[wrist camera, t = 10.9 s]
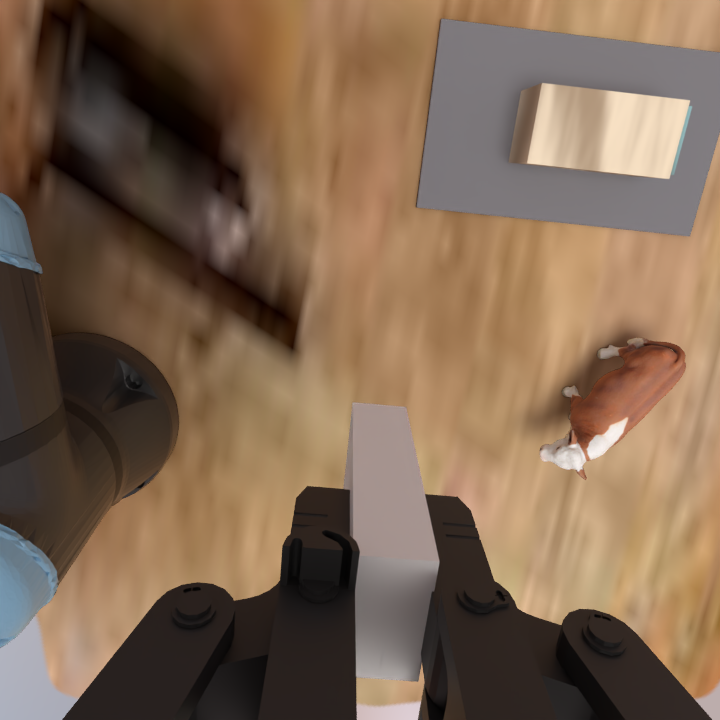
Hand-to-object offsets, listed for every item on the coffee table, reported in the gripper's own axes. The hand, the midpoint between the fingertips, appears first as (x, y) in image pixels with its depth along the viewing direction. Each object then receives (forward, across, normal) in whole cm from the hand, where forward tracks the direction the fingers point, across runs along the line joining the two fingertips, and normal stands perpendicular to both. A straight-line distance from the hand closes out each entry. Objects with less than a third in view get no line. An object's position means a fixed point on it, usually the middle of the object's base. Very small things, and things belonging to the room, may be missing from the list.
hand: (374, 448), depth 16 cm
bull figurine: (+33, +21, -9) cm, 40 cm away
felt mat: (+32, +15, +11) cm, 37 cm away
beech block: (+30, +10, +11) cm, 33 cm away
